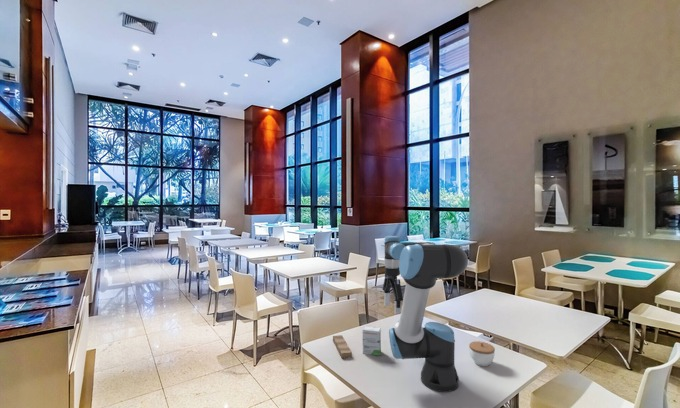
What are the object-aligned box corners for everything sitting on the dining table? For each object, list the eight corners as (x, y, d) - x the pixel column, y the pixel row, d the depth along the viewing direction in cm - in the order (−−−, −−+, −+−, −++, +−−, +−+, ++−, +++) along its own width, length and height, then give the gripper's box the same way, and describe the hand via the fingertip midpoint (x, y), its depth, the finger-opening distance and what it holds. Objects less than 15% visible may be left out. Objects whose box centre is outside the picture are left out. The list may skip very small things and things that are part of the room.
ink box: (381, 351, 159) (381, 327, 159) (379, 356, 155) (379, 331, 155) (364, 349, 162) (364, 325, 162) (362, 353, 157) (362, 329, 157)
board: (351, 357, 153) (351, 352, 153) (341, 358, 152) (341, 353, 152) (341, 339, 173) (341, 335, 173) (332, 340, 172) (332, 336, 172)
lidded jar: (497, 370, 141) (497, 349, 141) (471, 367, 144) (471, 346, 144) (491, 358, 152) (491, 339, 152) (467, 356, 154) (467, 336, 154)
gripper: (410, 271, 149) (410, 317, 149) (389, 262, 173) (389, 301, 173) (395, 272, 148) (395, 318, 148) (376, 262, 172) (376, 302, 172)
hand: (392, 309), depth 161 cm, fingers open, 12 cm apart
